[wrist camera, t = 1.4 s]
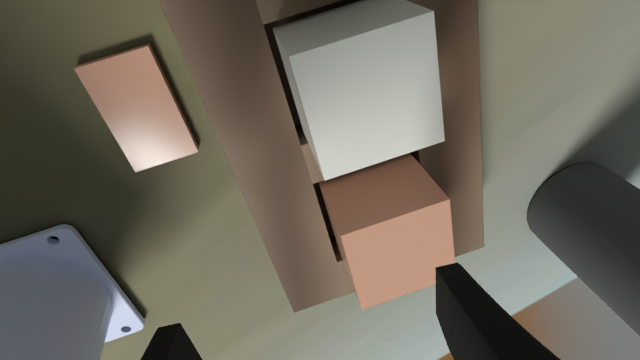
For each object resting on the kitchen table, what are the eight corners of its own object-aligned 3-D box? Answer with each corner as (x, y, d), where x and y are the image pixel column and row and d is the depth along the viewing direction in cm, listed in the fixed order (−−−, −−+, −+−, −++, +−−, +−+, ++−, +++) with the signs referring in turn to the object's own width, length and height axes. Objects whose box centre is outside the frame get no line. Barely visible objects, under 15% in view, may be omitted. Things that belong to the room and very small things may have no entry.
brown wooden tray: (286, 273, 25) (294, 312, 22) (45, -306, 12) (-2, -370, 9) (457, 215, 25) (484, 246, 23) (412, -404, 12) (463, -488, 10)
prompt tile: (137, 167, 19) (135, 172, 19) (77, 65, 17) (73, 68, 16) (198, 147, 20) (198, 152, 19) (149, 42, 17) (148, 45, 16)
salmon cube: (338, 249, 21) (361, 309, 18) (318, 181, 19) (340, 236, 16) (418, 222, 22) (456, 276, 18) (408, 151, 19) (449, 199, 16)
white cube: (303, 132, 18) (324, 180, 14) (272, 27, 15) (288, 56, 12) (401, 100, 18) (444, 141, 14) (386, -8, 15) (433, 11, 12)
